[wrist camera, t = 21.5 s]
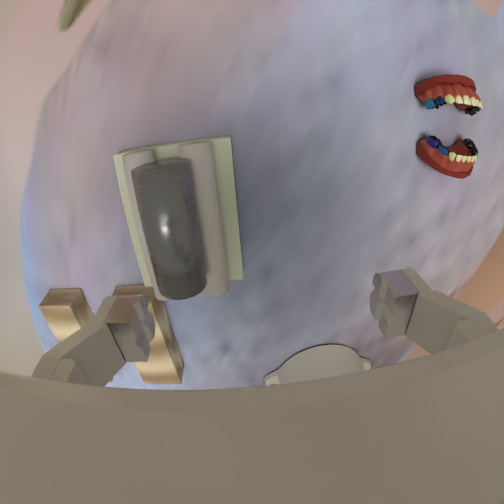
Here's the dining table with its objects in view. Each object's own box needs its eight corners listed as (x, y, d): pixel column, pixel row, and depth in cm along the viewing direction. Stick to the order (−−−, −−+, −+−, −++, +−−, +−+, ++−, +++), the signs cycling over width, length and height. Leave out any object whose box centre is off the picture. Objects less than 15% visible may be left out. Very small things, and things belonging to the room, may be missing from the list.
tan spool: (184, 364, 44) (181, 383, 41) (89, 362, 44) (82, 379, 41) (157, 283, 37) (151, 303, 33) (50, 289, 36) (38, 305, 33)
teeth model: (444, 183, 25) (445, 69, 20) (412, 167, 31) (411, 70, 25) (490, 182, 26) (494, 83, 20) (459, 167, 31) (459, 80, 25)
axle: (210, 269, 31) (203, 298, 27) (165, 271, 31) (153, 300, 27) (193, 155, 25) (181, 168, 21) (142, 162, 26) (121, 176, 21)
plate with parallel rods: (243, 270, 36) (244, 295, 32) (148, 277, 36) (139, 302, 32) (230, 135, 28) (229, 142, 24) (119, 151, 28) (101, 161, 24)
